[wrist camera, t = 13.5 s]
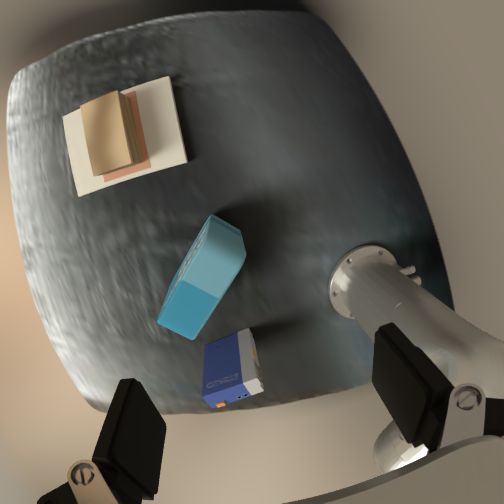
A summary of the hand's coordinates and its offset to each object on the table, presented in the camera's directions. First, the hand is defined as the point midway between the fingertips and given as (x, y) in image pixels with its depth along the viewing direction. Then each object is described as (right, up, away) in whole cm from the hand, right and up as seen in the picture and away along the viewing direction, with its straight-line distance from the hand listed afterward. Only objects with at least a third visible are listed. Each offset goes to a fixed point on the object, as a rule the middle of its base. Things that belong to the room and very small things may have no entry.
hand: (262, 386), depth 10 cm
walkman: (-4, -9, +35) cm, 36 cm away
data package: (-7, +4, +30) cm, 31 cm away
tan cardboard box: (-17, +20, +22) cm, 34 cm away
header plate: (-18, +20, +23) cm, 36 cm away
